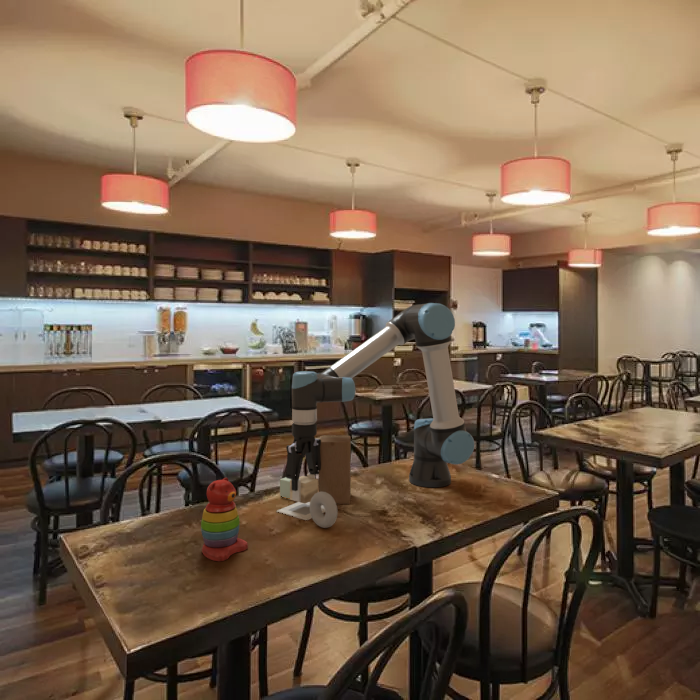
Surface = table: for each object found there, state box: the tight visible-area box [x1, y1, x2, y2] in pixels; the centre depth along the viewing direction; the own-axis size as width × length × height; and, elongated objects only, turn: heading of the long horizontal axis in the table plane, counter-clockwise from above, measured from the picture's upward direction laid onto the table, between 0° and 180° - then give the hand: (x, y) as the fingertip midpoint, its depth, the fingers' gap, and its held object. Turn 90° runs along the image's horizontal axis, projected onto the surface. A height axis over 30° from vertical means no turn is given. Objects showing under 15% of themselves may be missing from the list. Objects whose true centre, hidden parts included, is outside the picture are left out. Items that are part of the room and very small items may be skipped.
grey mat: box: [276, 501, 326, 521], centre depth 160 cm, size 12×12×1 cm
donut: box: [310, 491, 339, 529], centre depth 146 cm, size 10×4×10 cm, turn 46°
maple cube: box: [289, 475, 319, 503], centre depth 159 cm, size 6×6×6 cm
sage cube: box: [279, 476, 291, 499], centre depth 173 cm, size 6×6×6 cm
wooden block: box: [318, 434, 352, 505], centre depth 170 cm, size 10×10×20 cm
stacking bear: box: [200, 477, 249, 562], centre depth 131 cm, size 11×10×18 cm
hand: (303, 497), depth 159 cm, fingers closed on maple cube, 6 cm apart
